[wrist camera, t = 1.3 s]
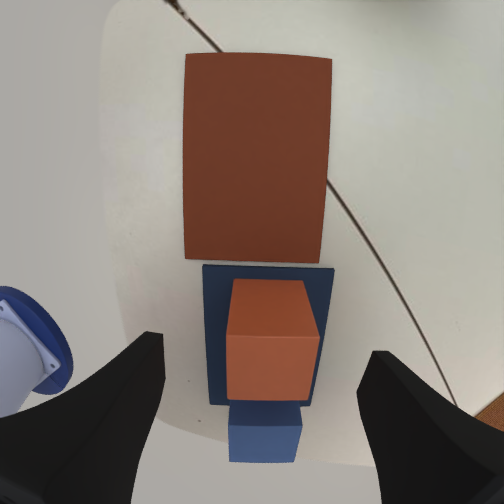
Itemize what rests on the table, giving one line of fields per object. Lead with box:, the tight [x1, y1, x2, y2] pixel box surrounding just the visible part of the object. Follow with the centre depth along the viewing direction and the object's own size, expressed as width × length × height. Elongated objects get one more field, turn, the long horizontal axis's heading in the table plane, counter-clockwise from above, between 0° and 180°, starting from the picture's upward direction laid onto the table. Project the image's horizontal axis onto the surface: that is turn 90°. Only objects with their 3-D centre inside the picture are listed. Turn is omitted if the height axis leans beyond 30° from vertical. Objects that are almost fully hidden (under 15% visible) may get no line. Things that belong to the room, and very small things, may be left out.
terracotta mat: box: [183, 52, 332, 263], centre depth 17 cm, size 12×8×1 cm, turn 178°
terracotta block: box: [226, 279, 320, 401], centre depth 17 cm, size 4×4×6 cm
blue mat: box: [202, 264, 335, 406], centre depth 22 cm, size 12×8×1 cm, turn 178°
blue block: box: [228, 399, 303, 463], centre depth 20 cm, size 4×4×6 cm
